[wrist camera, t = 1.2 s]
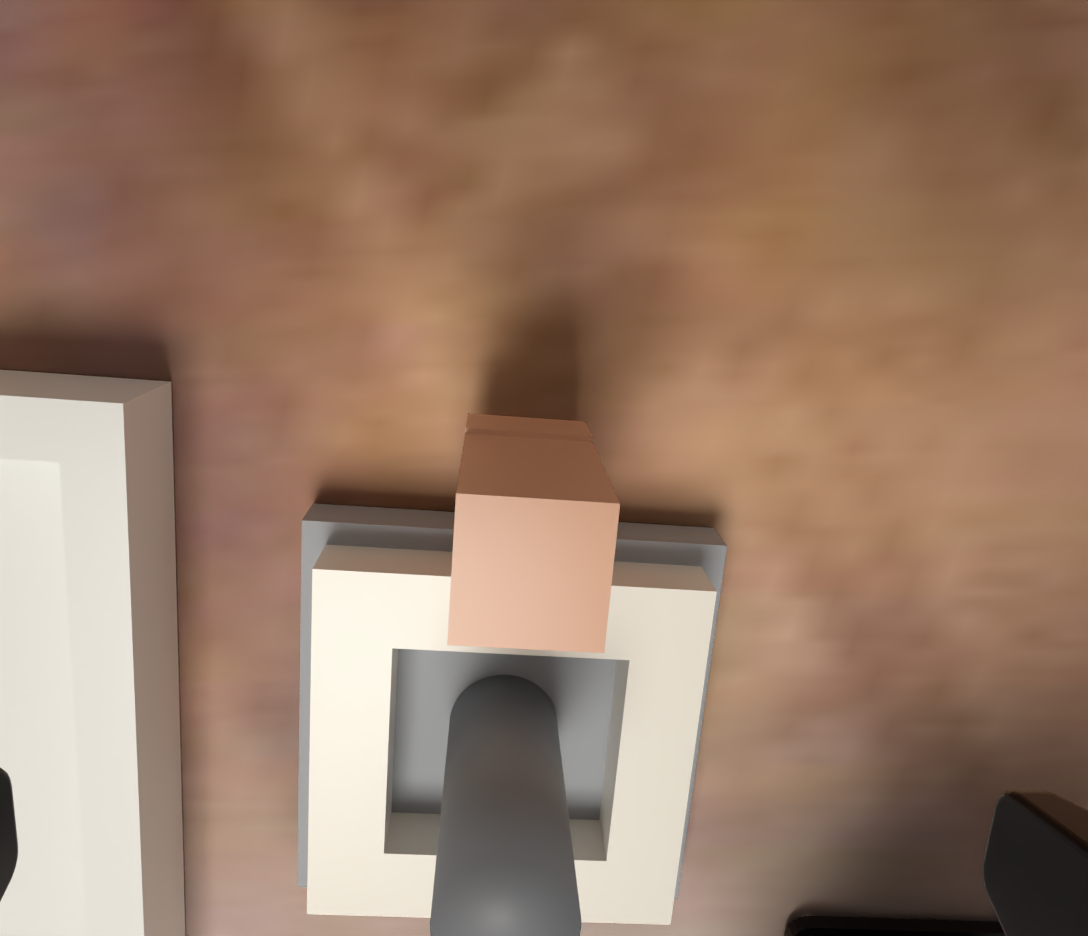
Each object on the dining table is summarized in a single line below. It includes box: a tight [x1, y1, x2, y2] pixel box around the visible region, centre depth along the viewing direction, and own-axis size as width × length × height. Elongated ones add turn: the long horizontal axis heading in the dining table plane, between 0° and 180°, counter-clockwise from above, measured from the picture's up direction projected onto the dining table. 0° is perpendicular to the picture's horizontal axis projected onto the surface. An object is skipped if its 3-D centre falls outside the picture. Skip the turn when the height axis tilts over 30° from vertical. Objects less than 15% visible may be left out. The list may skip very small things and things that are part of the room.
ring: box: [307, 413, 717, 925], centre depth 17 cm, size 8×11×5 cm
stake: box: [297, 503, 727, 936], centre depth 18 cm, size 9×9×7 cm
